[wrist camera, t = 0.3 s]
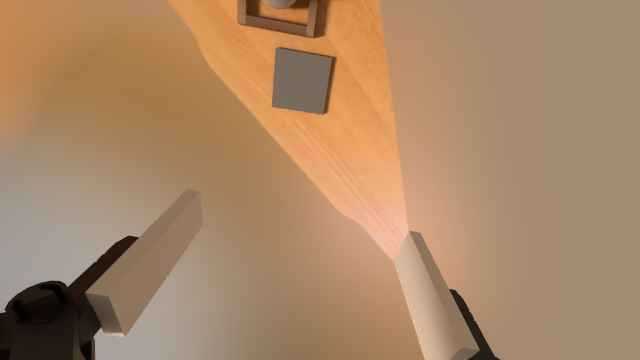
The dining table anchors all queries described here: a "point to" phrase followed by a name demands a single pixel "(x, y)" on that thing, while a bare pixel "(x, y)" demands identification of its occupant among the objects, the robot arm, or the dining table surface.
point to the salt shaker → (279, 3)
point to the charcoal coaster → (300, 81)
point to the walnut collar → (277, 25)
